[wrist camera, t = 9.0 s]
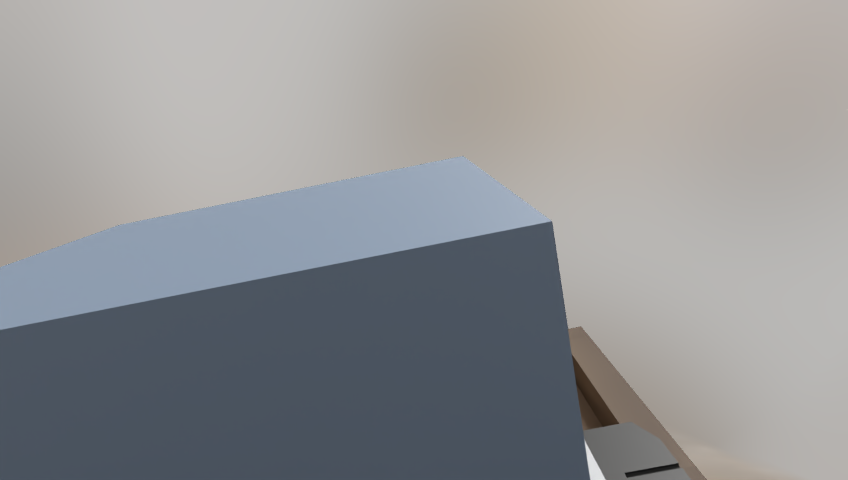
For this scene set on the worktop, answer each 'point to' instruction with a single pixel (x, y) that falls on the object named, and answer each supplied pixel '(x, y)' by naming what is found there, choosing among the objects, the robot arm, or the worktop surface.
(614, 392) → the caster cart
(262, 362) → the slate post
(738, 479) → the worktop surface
